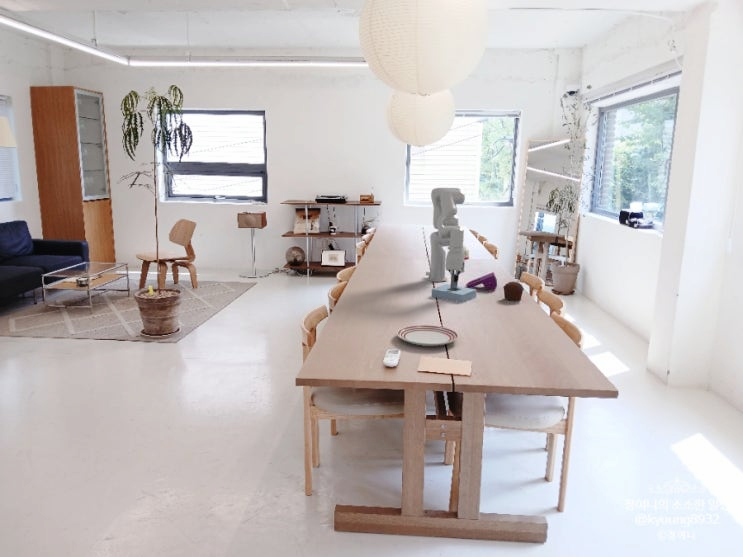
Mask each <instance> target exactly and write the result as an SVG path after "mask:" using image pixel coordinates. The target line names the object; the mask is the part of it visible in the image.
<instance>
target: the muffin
mask: <svg viewBox="0 0 743 557" xmlns="http://www.w3.org/2000/svg"><path fill="white" fill-rule="evenodd" d="M502 288H503V294H504V296H503V297H504V300H505V301H507V302H519V301H521V300H522V296H523V292H524V286H523V284H521V283H520V282H517V281H509V282H507V283H505V285H504V286H503V287H502Z"/></svg>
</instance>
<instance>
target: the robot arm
mask: <svg viewBox="0 0 743 557" xmlns="http://www.w3.org/2000/svg"><path fill="white" fill-rule="evenodd" d="M430 197H431V198H430V199H431V203H432V207H433V211H432V212H433V214H432V216H433V219H432V222H433V223H432V225H433V229H436V230H437V231H433V232H431V233H430V236H429V239H430V271H426V272H425V276H427V281H430V282H435V283H437V282H438V283H441V282H443V283H444V282H446V281H448V278H447V277H446V271H448V273H449V275H453V274H455V280H454V282H459V279H460V278H459V276H460V275H461V274H463V273H465V271H466V270H465V261H466V260H464V253H463V244H464V241H463V240H464V238H465V237H464V235H465V234H464V232H465V231H464V228H463V227H462V226H460V225H459V218H458V216H457V214H458V208H457V205H463V204H464V203H465V201H466V199H465V198H466V196H465V193H464V191H463V190H462V189H460V188H458V187H435V188H433V189H432V190H431V193H430ZM443 247H447V250H448V251H447V253H446V250H444V248H443Z"/></svg>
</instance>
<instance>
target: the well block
mask: <svg viewBox="0 0 743 557" xmlns="http://www.w3.org/2000/svg"><path fill="white" fill-rule="evenodd" d="M450 287H451V284H449V283H446V284H443V285H439V286H437V287H436V286H435V287H434V288H431V296H432V297H431V298H436V297H437V299H441V298H443V299H442V300H446V299H448V300H447V301H451V300H452V301H451V302H456V301H457V303H460V302H461V304H463V303H465V302H468V301H471V300H473V299H475V298H477V289H475V288H467V287H463V286H459V285H457V290H458V291H451V290H450ZM474 297H475V298H474ZM472 298H473V299H472ZM467 300H468V301H467Z"/></svg>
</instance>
